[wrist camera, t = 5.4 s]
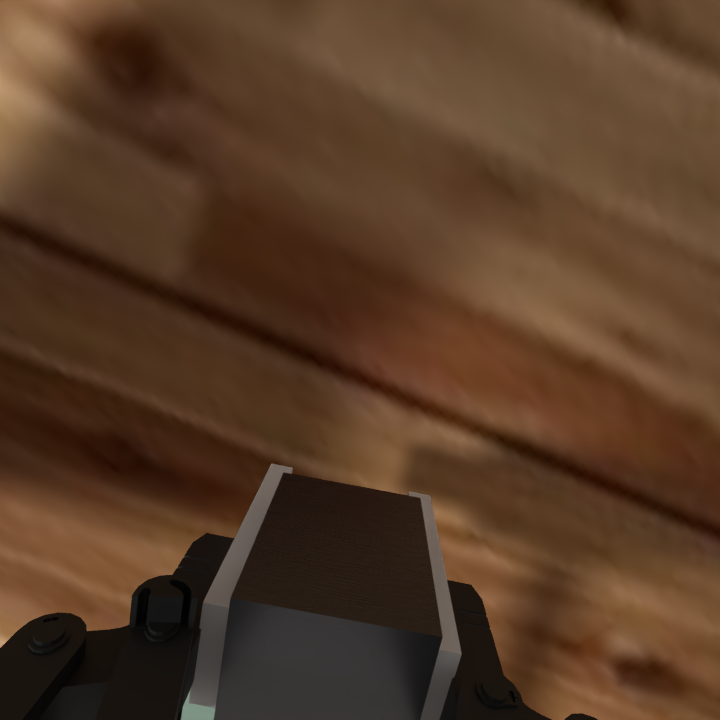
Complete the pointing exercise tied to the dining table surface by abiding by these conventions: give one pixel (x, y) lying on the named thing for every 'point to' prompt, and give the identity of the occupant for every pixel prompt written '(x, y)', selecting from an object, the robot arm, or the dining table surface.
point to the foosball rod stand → (332, 609)
